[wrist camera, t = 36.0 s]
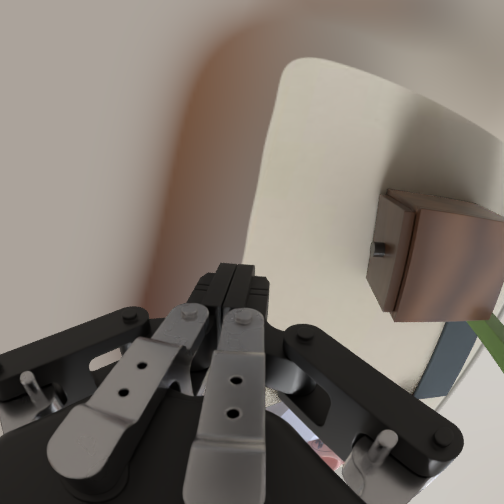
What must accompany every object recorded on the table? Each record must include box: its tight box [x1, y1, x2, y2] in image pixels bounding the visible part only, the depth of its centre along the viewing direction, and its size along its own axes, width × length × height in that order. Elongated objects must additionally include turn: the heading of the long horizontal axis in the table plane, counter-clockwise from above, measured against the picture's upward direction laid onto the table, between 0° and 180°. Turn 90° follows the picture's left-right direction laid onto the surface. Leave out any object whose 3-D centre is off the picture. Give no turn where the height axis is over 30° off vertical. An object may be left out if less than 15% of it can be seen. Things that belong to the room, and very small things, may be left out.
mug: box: [307, 439, 345, 471], centre depth 47 cm, size 12×10×6 cm
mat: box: [413, 321, 477, 399], centre depth 39 cm, size 22×8×1 cm, turn 178°
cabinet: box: [387, 189, 504, 322], centre depth 29 cm, size 14×12×10 cm
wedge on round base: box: [265, 402, 319, 442], centre depth 43 cm, size 9×7×13 cm
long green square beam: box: [466, 313, 504, 373], centre depth 28 cm, size 2×3×15 cm
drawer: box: [366, 194, 416, 312], centre depth 29 cm, size 14×10×8 cm
